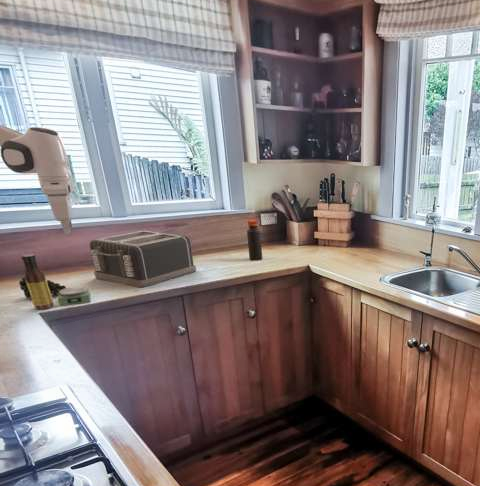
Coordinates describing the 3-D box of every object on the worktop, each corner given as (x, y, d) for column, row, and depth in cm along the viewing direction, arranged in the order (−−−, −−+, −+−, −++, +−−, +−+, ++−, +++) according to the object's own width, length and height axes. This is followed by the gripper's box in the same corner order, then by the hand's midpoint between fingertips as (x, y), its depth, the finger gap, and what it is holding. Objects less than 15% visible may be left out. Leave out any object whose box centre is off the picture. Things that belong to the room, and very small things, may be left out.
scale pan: (58, 296, 175) (58, 294, 175) (60, 290, 183) (59, 288, 182) (87, 293, 179) (86, 291, 179) (87, 287, 187) (87, 285, 186)
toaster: (85, 280, 206) (75, 241, 199) (151, 263, 235) (145, 228, 228) (133, 290, 195) (124, 249, 187) (196, 271, 224) (191, 235, 216)
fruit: (62, 270, 187) (16, 273, 180) (63, 281, 182) (16, 285, 175) (66, 288, 192) (22, 292, 185) (68, 300, 187) (22, 304, 180)
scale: (60, 306, 176) (57, 298, 174) (61, 298, 184) (59, 290, 183) (90, 302, 180) (88, 295, 179) (90, 295, 188) (89, 287, 187)
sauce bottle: (43, 304, 177) (28, 252, 169) (58, 305, 177) (43, 253, 168) (29, 309, 172) (13, 256, 163) (45, 310, 171) (29, 257, 162)
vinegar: (264, 258, 252) (261, 220, 243) (259, 261, 246) (255, 222, 237) (253, 257, 253) (249, 219, 245) (247, 260, 247) (243, 221, 239)
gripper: (48, 182, 152) (59, 226, 158) (42, 189, 135) (54, 237, 141) (70, 182, 154) (81, 225, 160) (67, 188, 138) (78, 236, 144)
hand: (68, 231), depth 151 cm, fingers open, 8 cm apart
